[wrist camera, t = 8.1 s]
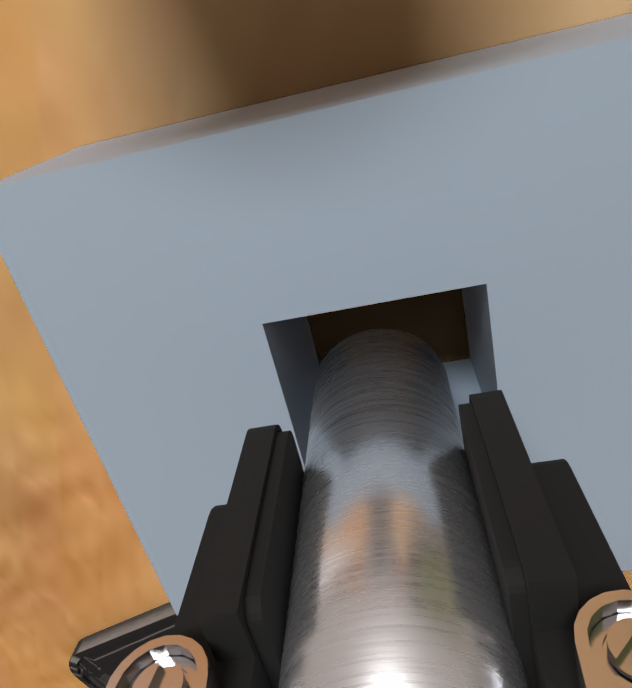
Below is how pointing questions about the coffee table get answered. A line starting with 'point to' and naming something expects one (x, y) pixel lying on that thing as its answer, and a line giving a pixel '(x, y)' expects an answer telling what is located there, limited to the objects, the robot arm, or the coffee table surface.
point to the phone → (118, 644)
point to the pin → (391, 534)
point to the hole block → (343, 266)
